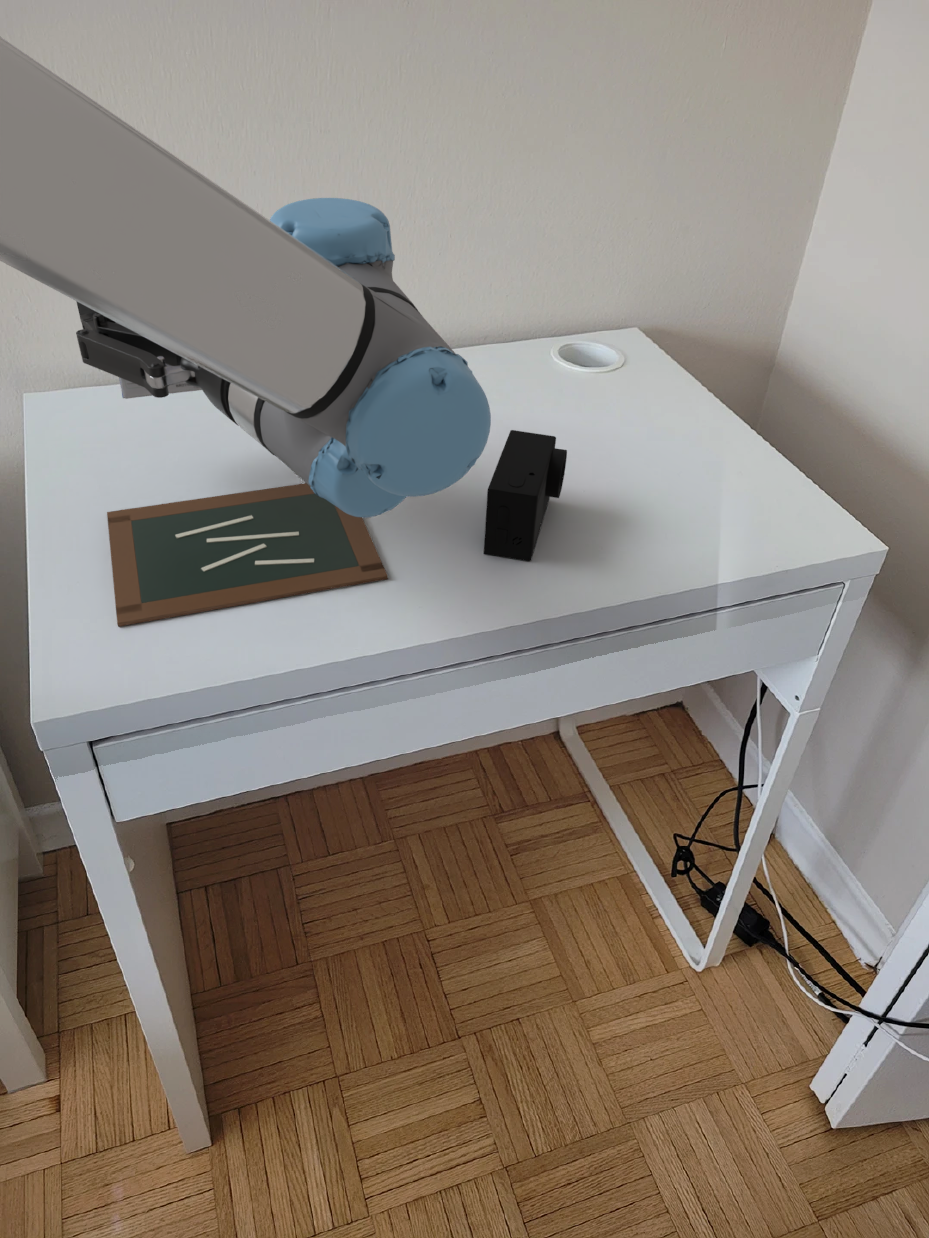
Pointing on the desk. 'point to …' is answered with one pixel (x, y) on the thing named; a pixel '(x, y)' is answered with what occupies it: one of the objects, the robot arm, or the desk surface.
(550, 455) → the digital camera
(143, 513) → the chalkboard
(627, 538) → the desk surface
